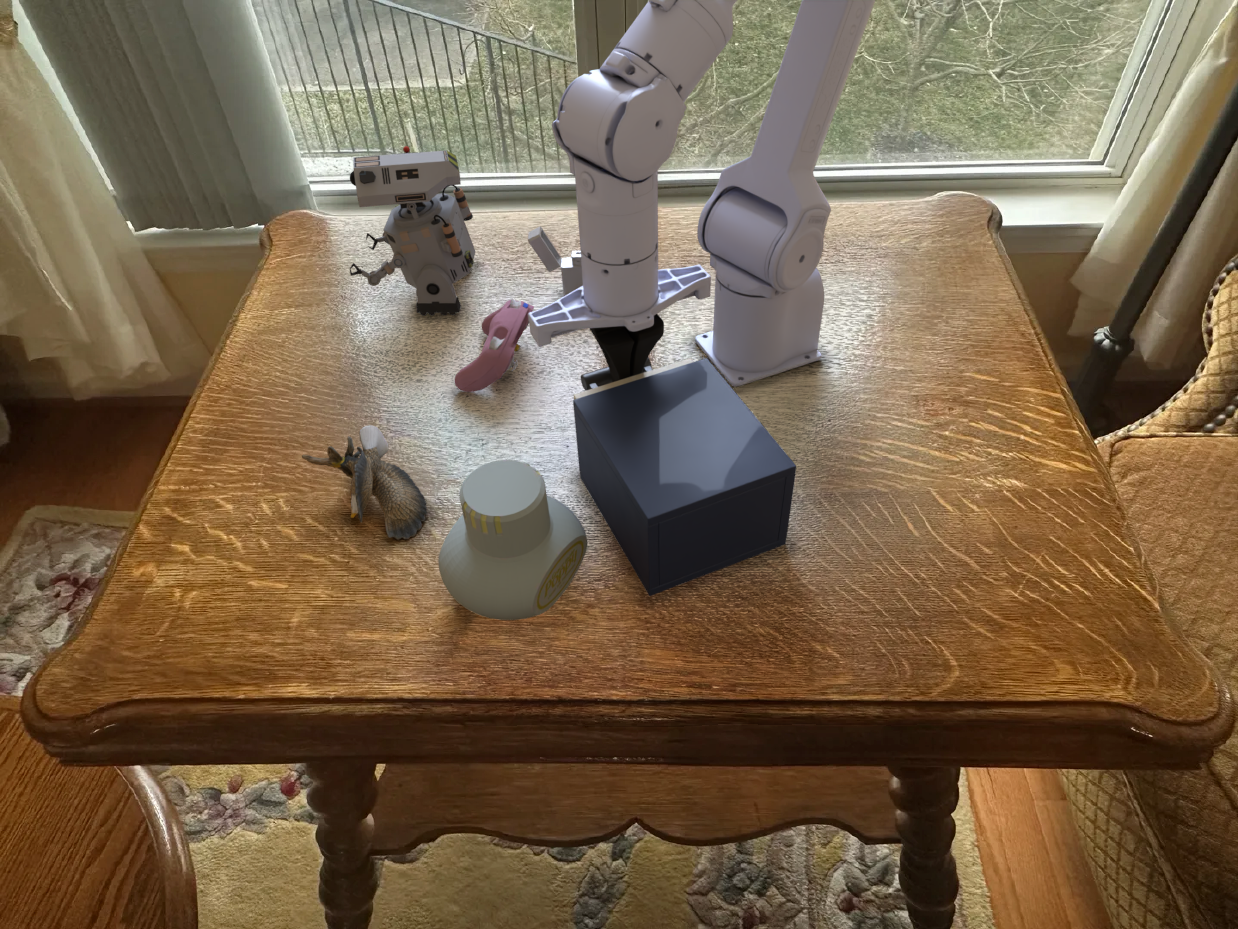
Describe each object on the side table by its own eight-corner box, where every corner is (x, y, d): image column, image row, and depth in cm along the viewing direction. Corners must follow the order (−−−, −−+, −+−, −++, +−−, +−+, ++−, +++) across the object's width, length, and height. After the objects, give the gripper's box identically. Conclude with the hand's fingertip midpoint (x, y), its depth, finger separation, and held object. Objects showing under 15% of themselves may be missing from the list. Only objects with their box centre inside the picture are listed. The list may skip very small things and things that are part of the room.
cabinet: (579, 477, 78) (572, 399, 72) (704, 435, 81) (707, 357, 75) (649, 597, 69) (647, 519, 63) (786, 544, 72) (796, 465, 66)
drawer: (560, 424, 82) (553, 363, 77) (668, 390, 84) (668, 328, 79) (641, 561, 70) (639, 499, 66) (762, 516, 73) (769, 453, 68)
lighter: (604, 292, 97) (601, 223, 91) (604, 302, 96) (600, 233, 90) (536, 294, 97) (528, 225, 91) (535, 304, 96) (526, 235, 90)
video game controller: (494, 411, 87) (519, 361, 82) (448, 389, 86) (471, 338, 81) (523, 346, 93) (548, 296, 89) (481, 325, 93) (504, 274, 88)
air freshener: (514, 511, 76) (499, 419, 69) (602, 549, 73) (595, 457, 65) (429, 608, 69) (402, 518, 62) (522, 655, 66) (505, 565, 59)
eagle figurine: (292, 502, 76) (347, 548, 70) (307, 418, 74) (365, 458, 68) (375, 500, 81) (432, 542, 75) (391, 421, 80) (451, 458, 74)
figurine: (382, 267, 102) (348, 135, 91) (487, 266, 101) (465, 133, 90) (361, 317, 95) (323, 181, 85) (474, 317, 95) (449, 180, 84)
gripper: (545, 298, 64) (561, 442, 74) (733, 245, 68) (724, 389, 78) (511, 248, 69) (530, 390, 78) (688, 201, 73) (686, 342, 82)
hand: (624, 386), depth 78 cm, fingers closed
